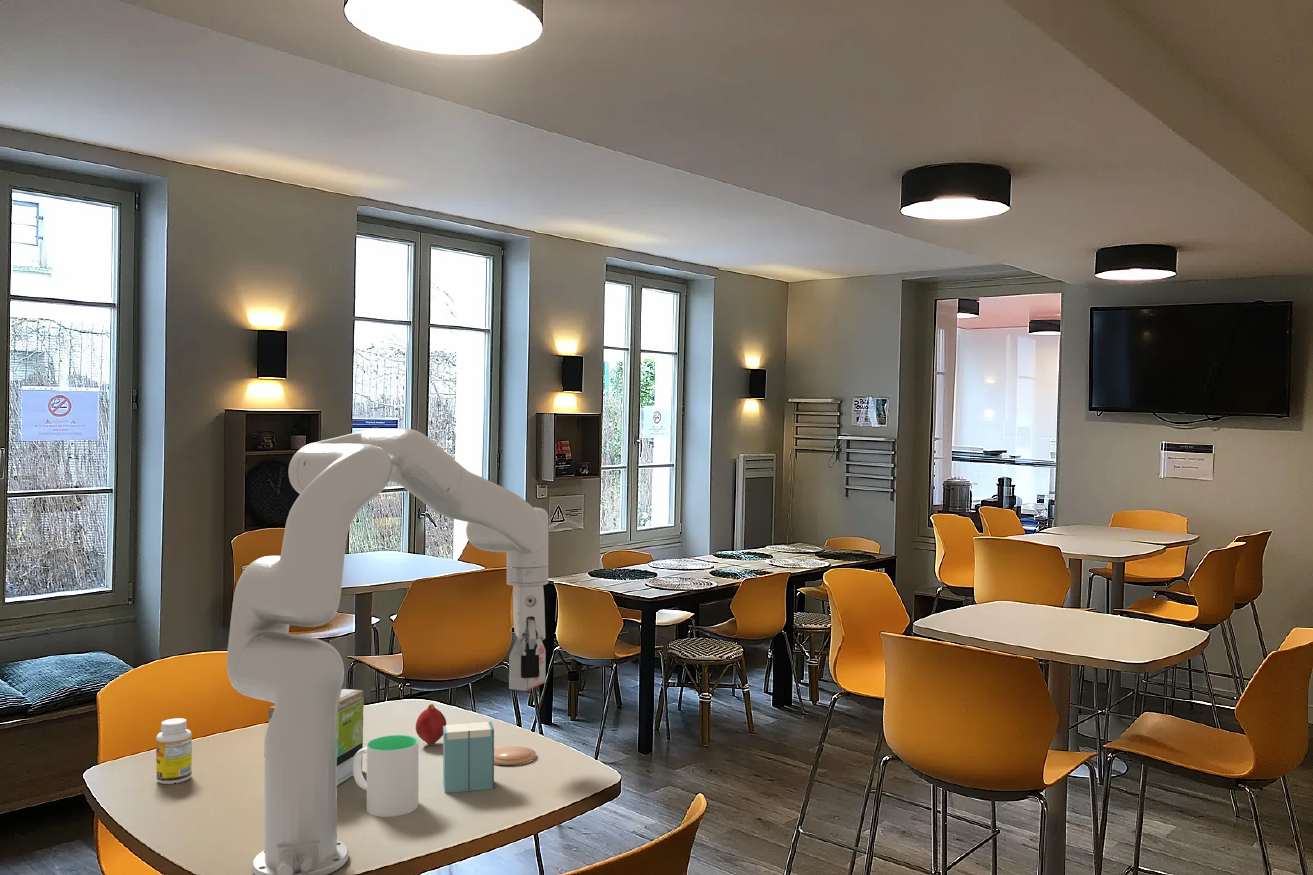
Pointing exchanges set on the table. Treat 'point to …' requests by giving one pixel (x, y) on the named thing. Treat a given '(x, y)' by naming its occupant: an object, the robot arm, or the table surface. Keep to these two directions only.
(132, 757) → the table surface
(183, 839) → the table surface
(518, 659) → the white gable carton
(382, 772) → the mug
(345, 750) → the tea box
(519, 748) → the saucer
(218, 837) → the table surface
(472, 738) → the teal and cream box
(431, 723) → the onion
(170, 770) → the supplement bottle
